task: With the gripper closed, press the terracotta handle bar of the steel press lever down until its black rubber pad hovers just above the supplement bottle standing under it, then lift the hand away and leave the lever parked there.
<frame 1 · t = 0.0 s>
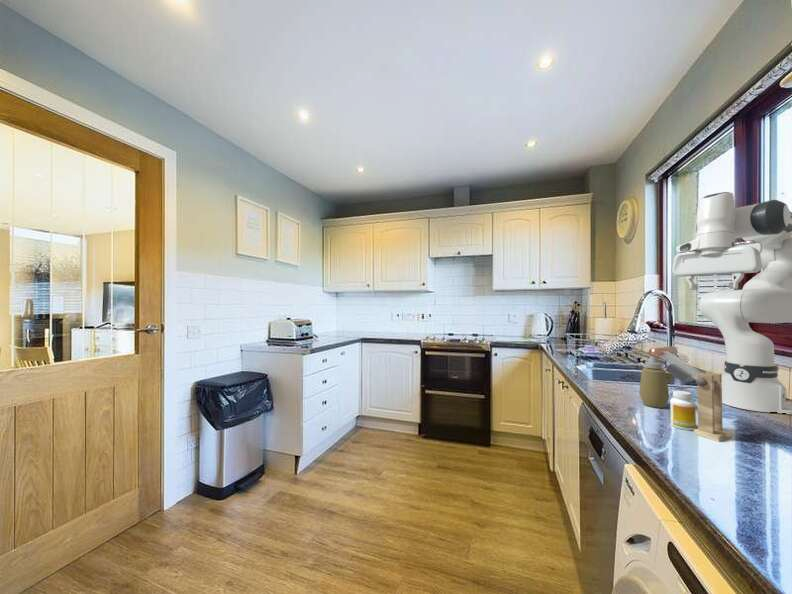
hand: (712, 289, 102), 39 cm above the counter, tool pointing down, fingers open, 8 cm apart
supplement bottle: (682, 427, 93), on the counter
press stand: (707, 434, 88), on the counter
lever: (683, 367, 94), point 16 cm above the counter, hinge at 30.0°
squeeze bottle: (654, 406, 112), on the counter
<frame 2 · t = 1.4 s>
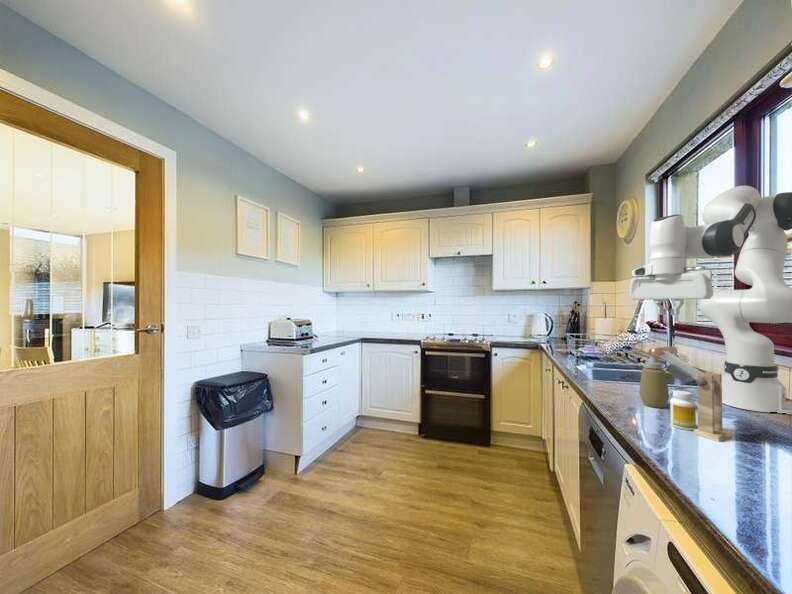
hand: (668, 314, 100), 31 cm above the counter, tool pointing down, fingers closed
nothing on the counter moved.
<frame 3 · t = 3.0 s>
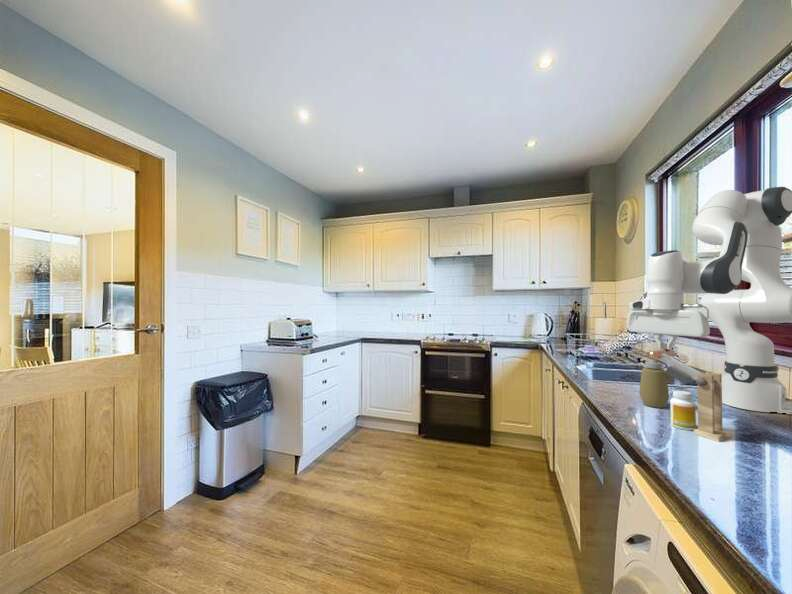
hand: (665, 349, 101), 21 cm above the counter, tool pointing down, fingers closed, pressing on lever
lever: (682, 368, 94), point 16 cm above the counter, hinge at 25.5°, touching gripper
everything else where it was.
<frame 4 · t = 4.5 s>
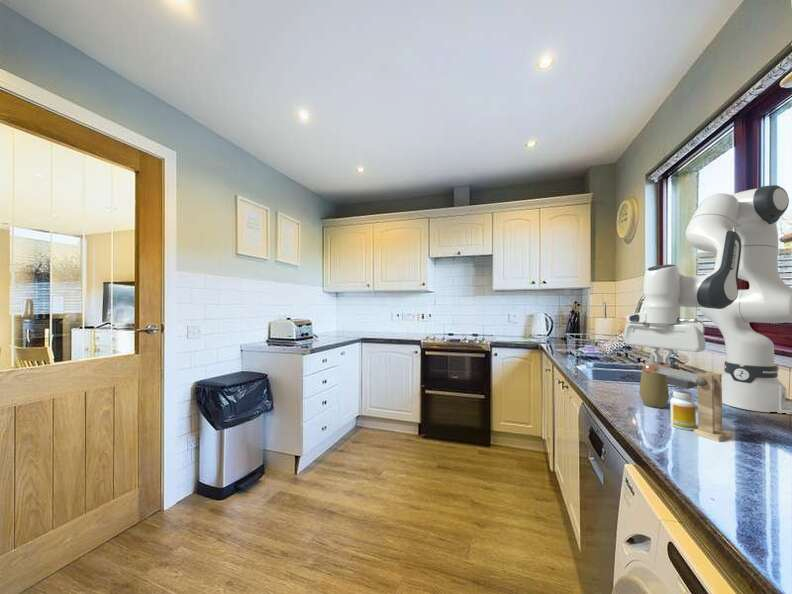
hand: (661, 362, 101), 16 cm above the counter, tool pointing down, fingers closed, pressing on lever
lever: (681, 376, 94), point 14 cm above the counter, hinge at 5.3°, touching gripper
everything else where it was.
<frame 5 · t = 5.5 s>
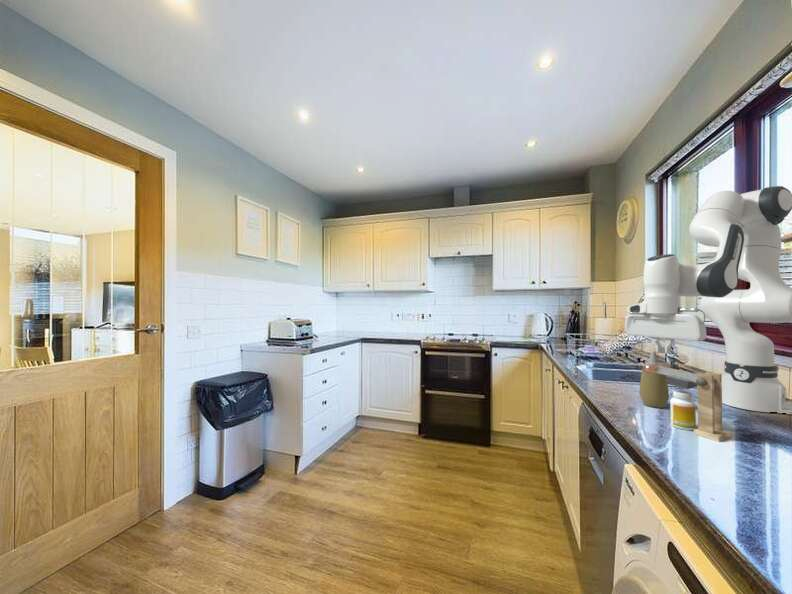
hand: (663, 352, 101), 19 cm above the counter, tool pointing down, fingers closed
lever: (681, 376, 94), point 14 cm above the counter, hinge at 5.2°
everything else where it was.
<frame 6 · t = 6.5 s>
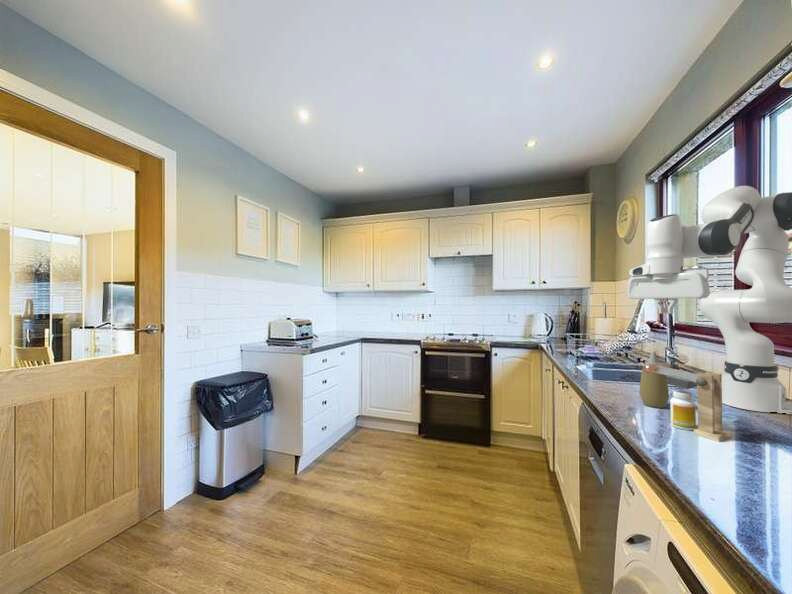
hand: (666, 313, 101), 31 cm above the counter, tool pointing down, fingers closed
nothing on the counter moved.
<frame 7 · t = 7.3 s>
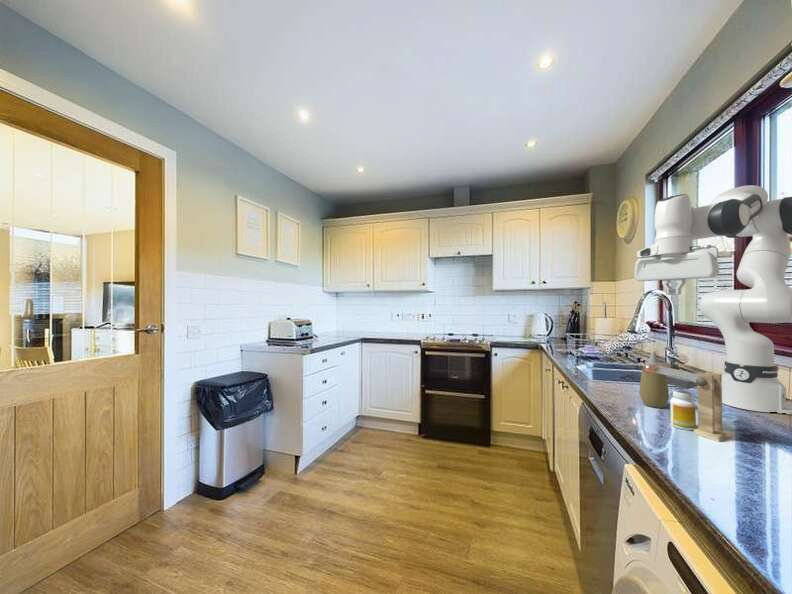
hand: (673, 294, 100), 37 cm above the counter, tool pointing down, fingers closed
nothing on the counter moved.
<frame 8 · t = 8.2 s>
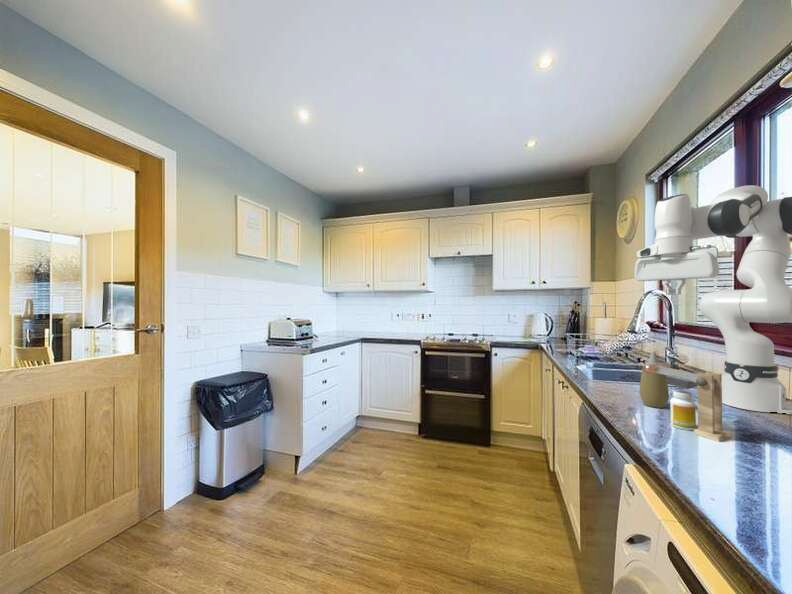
hand: (673, 294, 100), 37 cm above the counter, tool pointing down, fingers closed
nothing on the counter moved.
at the end: lever at +5° (first picture: +30°); supplement bottle tilted 0°; supplement bottle moved 0.2 cm from its start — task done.
